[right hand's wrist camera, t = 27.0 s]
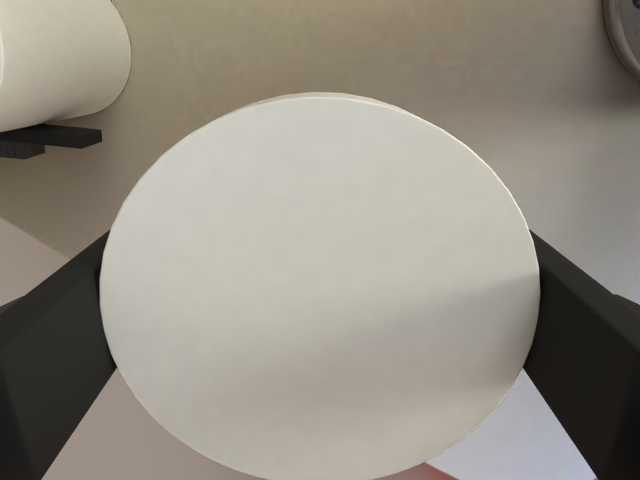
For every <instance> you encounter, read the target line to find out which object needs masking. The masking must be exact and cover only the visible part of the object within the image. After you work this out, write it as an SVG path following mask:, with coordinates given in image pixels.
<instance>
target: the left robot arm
mask: <svg viewBox="0 0 640 480" xmlns="http://www.w3.org/2000/svg"><path fill="white" fill-rule="evenodd" d="M100 142H102V133H101V130H97V129H88V128H78V127H68V126H58V125H49V124H39V125H34V126H29V127H24V128H19V129H14V130H8V131H3V132H0V157H9V158H17V159H27V158H30V157H33V156H37V155H40V154H43V153H45V146H44V145H51V146H61V147H71V148H81V149H82V148H85V147H88V146H91V145H94V144H97V143H100Z"/></svg>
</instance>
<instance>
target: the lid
mask: <svg viewBox="0 0 640 480" xmlns="http://www.w3.org/2000/svg"><path fill="white" fill-rule="evenodd" d="M539 304H540V279H539V266H538V261H537V257H536V252H535V247H534V243H533V239H532V237H531V234H530V232H529V229H528V226H527V224H526V221H525V219H524V216H523V214H522V212H521V211H520V209H519V207H518V205H517V204H516V202H515V200H514V198H513V197H512V195H511V193H510V191H509V190H508V189H507V187H506V186H505V185H504V184H503V182H502V181H501V180H500V179H499V177H498V176H497V175H496V174H495V172H494V171H493V170H492V169H491V167H489V166H488V165H487V164H486V163H485V162H484V161H483V160H482V159H481V158H480V157H479V156H478V155H477V154H475V153H474V152H473V151H472V150H471V149H470V148H469V147H468V146H466V145H465V144H463V143H462V142H461V141H459V140H458V139H456V138H455V137H453V136H452V135H450V134H449V133H447V132H446V131H444V130H443V129H441V128H439V127H437V126H435V125H433V124H431V123H429V122H427V121H425V120H423V119H421V118H419V117H417V116H415V115H413V114H411V113H409V112H407V111H405V110H403V109H401V108H399V107H396V106H393V105H390V104H387V103H384V102H381V101H378V100H375V99H372V98H367V97H362V96H356V95H351V94H345V93H329V92H308V93H297V94H287V95H282V96H278V97H273V98H269V99H265V100H261V101H257V102H254V103H252V104H249V105H247V106H244V107H242V108H239V109H237V110H234V111H232V112H229V113H227V114H225V115H223V116H221V117H219V118H217V119H215V120H213V121H212V122H210V123H208V124H206V125H205V126H203V127H201V128H199V129H198V130H196V131H194V132H192V133H191V134H189V135H187V136H186V137H184V138H183V139H182V140H180V141H179V142H178V143H177V144H175V145H174V146H173V147H171V148H170V149H169V150H168V151H166V152H165V153H164V154H163V155H161V156H160V157H159V158H158V160H157V161H156V162H155V163H154V164H153V165H152V166H151V167H150V168H149V169H148V170H147V171H146V172H145V173H144V174H143V175H142V176H141V178H140V179H139V180H138V182H137V183H136V185H135V186H134V188H133V189H132V190H131V192H130V193H129V195H128V196H127V198H126V199H125V200H124V202H123V204H122V206H121V208H120V210H119V212H118V214H117V216H116V218H115V221H114V223H113V225H112V227H111V230H110V233H109V236H108V240H107V243H106V246H105V249H104V253H103V259H102V266H101V273H100V310H101V316H102V322H103V328H104V332H105V336H106V339H107V342H108V346H109V349H110V352H111V355H112V357H113V359H114V361H115V363H116V366H117V368H118V370H119V372H120V374H121V376H122V378H123V379H124V381H125V382H126V384H127V386H128V387H129V389H130V390H131V392H132V393H133V395H134V396H135V398H136V399H137V400H138V401H139V402H140V404H141V405H142V406H143V407H144V408H145V410H146V411H147V412H148V413H149V414H150V415H151V416H152V417H153V418H154V419H155V420H156V421H157V422H158V423H159V424H160V425H161V426H162V427H163V428H164V429H165V430H166V431H168V432H169V433H170V434H171V435H173V436H174V437H175V438H177V439H178V440H180V441H181V442H182V443H184V444H185V445H186V446H188V447H189V448H191V449H193V450H195V451H196V452H198V453H200V454H201V455H203V456H205V457H206V458H208V459H210V460H213V461H215V462H217V463H219V464H222V465H224V466H226V467H228V468H230V469H234V470H236V471H239V472H242V473H245V474H248V475H251V476H255V477H259V478H264V479H268V480H372V479H376V478H380V477H384V476H387V475H391V474H395V473H398V472H400V471H403V470H406V469H408V468H411V467H414V466H416V465H419V464H421V463H423V462H425V461H427V460H429V459H431V458H433V457H435V456H437V455H439V454H440V453H442V452H444V451H445V450H447V449H448V448H450V447H451V446H453V445H454V444H456V443H457V442H459V441H461V440H462V439H463V438H464V437H465V436H467V435H468V434H469V433H470V432H472V431H473V430H474V429H475V428H476V427H478V426H479V425H480V424H481V423H482V422H483V421H484V420H485V419H486V418H487V417H488V416H489V415H490V414H491V412H492V411H493V410H494V409H495V408H496V407H497V406H498V405H499V403H500V402H501V401H502V399H503V398H504V397H505V395H506V394H507V393H508V391H509V390H510V389H511V387H512V385H513V383H514V382H515V380H516V378H517V376H518V375H519V373H520V371H521V369H522V368H523V365H524V363H525V360H526V358H527V355H528V353H529V350H530V348H531V345H532V342H533V338H534V334H535V330H536V325H537V320H538V314H539Z"/></svg>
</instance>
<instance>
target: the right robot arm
mask: <svg viewBox="0 0 640 480" xmlns="http://www.w3.org/2000/svg"><path fill="white" fill-rule="evenodd" d="M603 9H604V20H605V25H606V30H607V34H608V37H609V40H610V43H611V45H612V48H613V50H614V52H615V53H616V55H617V57H618V59H619V60H620V61H621V63H622V64H623V66H624V67H625V68H626V69H627V70H628V71H629V72H630V73H631V74H632V75H633V76H634V77H636V78H637V79H638V80H640V0H603ZM110 230H111V229H110ZM110 230H109V231H108V232H106V233H105V234H104V235H103V236H101V237H100V238H99V239H97V240H96V241H95V242H94V243H92V244H91V245H90V246H88V247H87V248H86V249H84V250H83V251H82V252H81V253H79V254H78V255H77V256H75V257H74V258H73V259H72V260H70V261H69V262H68V263H66V264H65V265H64V266H62V267H61V268H60V269H59V270H57V271H56V272H55V273H53V274H52V275H51V276H50V277H48V278H47V279H46V280H44V281H43V282H42V283H40V284H39V285H38V286H37V287H35V288H34V289H33V290H31V291H30V292H29V293H28V294H26V295H25V296H22V297H20V298H18V299H16V300H14V301H11V302H9V303H7V304H5V305H3V306H1V307H0V480H41V479H42V478H43V476H44V475H45V473H46V472H47V470H48V469H49V467H50V466H51V464H52V463H53V461H54V460H55V458H56V457H57V455H58V454H59V452H60V451H61V449H62V448H63V446H64V445H65V443H66V442H67V441H68V439H69V438H70V436H71V435H72V433H73V432H74V430H75V429H76V427H77V426H78V424H79V423H80V421H81V420H82V418H83V417H84V415H85V414H86V412H87V411H88V410H89V408H90V407H91V405H92V403H93V402H94V401H95V399H96V398H97V396H98V395H99V393H100V392H101V390H102V389H103V387H104V386H105V384H106V383H107V381H108V380H109V378H110V377H111V375H112V374H113V373H114V371H115V370H116V368H117V366H116V363H115V361H114V359H113V357H112V355H111V352H110V349H109V346H108V342H107V339H106V336H105V332H104V328H103V322H102V316H101V310H100V273H101V266H102V259H103V253H104V249H105V246H106V243H107V240H108V236H109V233H110ZM529 232H530V234H531V237H532V239H533V243H534V247H535V252H536V257H537V261H538V266H539V279H540V304H539V314H538V320H537V325H536V330H535V334H534V338H533V342H532V345H531V348H530V350H529V353H528V355H527V358H526V360H525V363H524V365H523V369H524V370H525V372H526V373H527V374H528V376H529V377H530V379H531V380H532V382H533V383H534V385H535V386H536V388H537V389H538V391H539V392H540V394H541V395H542V397H543V398H544V400H545V401H546V403H547V404H548V406H549V407H550V409H551V410H552V411H553V413H554V414H555V416H556V417H557V419H558V420H559V422H560V423H561V425H562V426H563V428H564V429H565V431H566V432H567V434H568V435H569V437H570V438H571V440H572V441H573V443H574V444H575V445H576V447H577V448H578V450H579V451H580V453H581V454H582V456H583V457H584V459H585V460H586V462H587V463H588V465H589V466H590V468H591V469H592V471H593V472H594V474H595V475H596V477H597V478H598V479H599V480H640V305H639V304H637V303H634V302H632V301H630V300H628V299H626V298H624V297H621V296H619V295H613V294H612V293H611V292H610V291H608V290H607V289H606V288H604V287H603V286H602V285H600V284H599V283H598V282H597V281H595V280H594V279H593V278H591V277H590V276H589V275H588V274H586V273H585V272H584V271H582V270H581V269H580V268H578V267H577V266H576V265H575V264H573V263H572V262H571V261H569V260H568V259H567V258H566V257H564V256H563V255H562V254H560V253H559V252H558V251H557V250H555V249H554V248H553V247H551V246H550V245H549V244H547V243H546V242H545V241H544V240H542V239H541V238H540V237H538V236H537V235H536V234H535V233H533V232H532V231H531V230H529Z"/></svg>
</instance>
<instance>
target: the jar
mask: <svg viewBox="0 0 640 480" xmlns="http://www.w3.org/2000/svg"><path fill="white" fill-rule="evenodd" d="M130 68H131V46H130V41H129V36H128V33H127V30H126V27H125V25H124V23H123V20H122V18H121V17H120V15H119V13H118V11H117V10H116V8H115V7H114V6H113V4H112V3H111V1H110V0H0V132H3V131H8V130H14V129H19V128H24V127H29V126H34V125H39V124H44V123H49V122H54V121H59V120H64V119H69V118H74V117H79V116H84V115H89V114H93V113H96V112H98V111H101V110H102V109H104V108H106V107H108V106H109V105H110V104H111V103H113V102H114V101H115V100H116V99H117V97H118V96H119V95H120V94H121V92H122V91H123V89H124V87H125V85H126V83H127V80H128V77H129V73H130Z"/></svg>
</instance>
